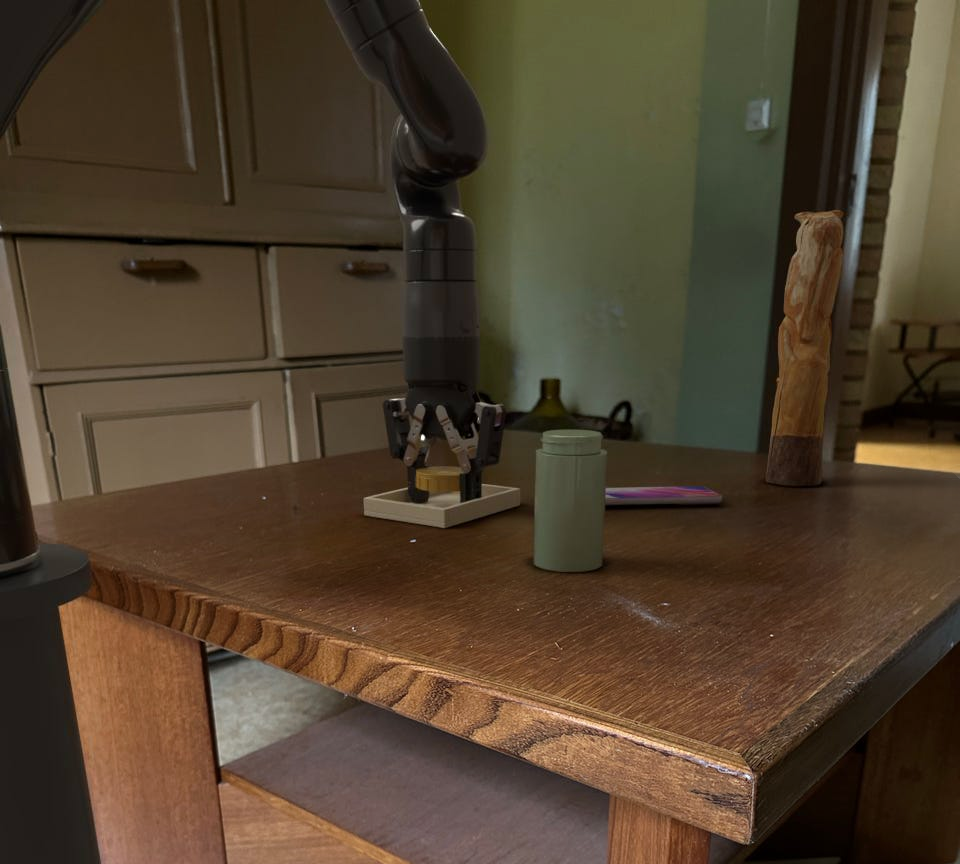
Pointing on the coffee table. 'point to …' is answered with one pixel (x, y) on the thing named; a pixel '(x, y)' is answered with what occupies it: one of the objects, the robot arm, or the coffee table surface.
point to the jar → (570, 501)
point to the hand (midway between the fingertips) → (444, 504)
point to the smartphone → (661, 496)
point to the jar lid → (438, 479)
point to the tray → (440, 506)
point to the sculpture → (805, 351)
